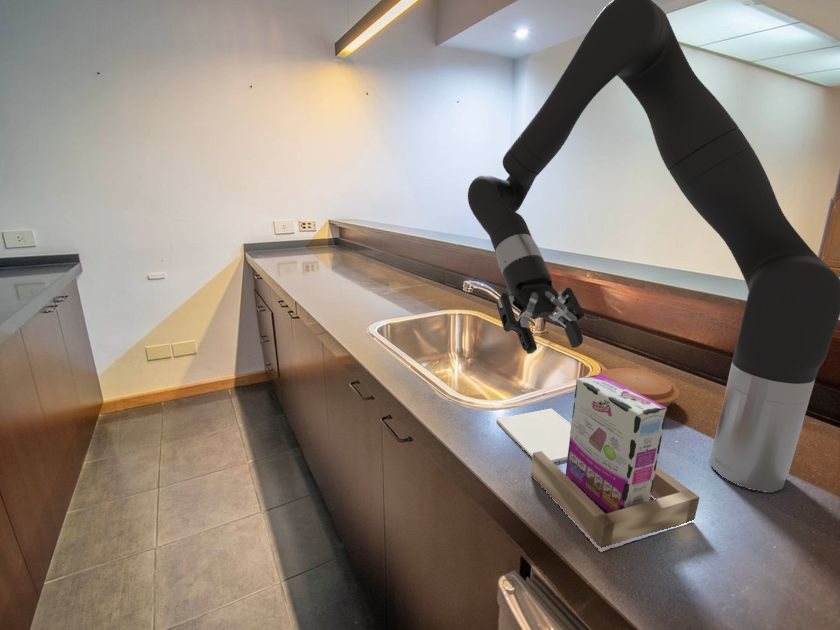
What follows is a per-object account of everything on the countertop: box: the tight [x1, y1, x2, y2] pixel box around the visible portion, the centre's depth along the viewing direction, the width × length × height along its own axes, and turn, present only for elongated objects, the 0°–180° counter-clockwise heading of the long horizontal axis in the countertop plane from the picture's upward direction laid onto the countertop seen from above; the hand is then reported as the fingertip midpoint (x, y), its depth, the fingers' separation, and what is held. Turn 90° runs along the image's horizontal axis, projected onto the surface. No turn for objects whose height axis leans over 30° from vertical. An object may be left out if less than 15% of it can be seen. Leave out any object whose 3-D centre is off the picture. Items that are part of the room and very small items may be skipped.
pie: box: [597, 367, 681, 408], centre depth 86 cm, size 15×16×5 cm
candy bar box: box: [565, 374, 668, 514], centre depth 58 cm, size 11×5×16 cm, turn 21°
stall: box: [530, 451, 700, 548], centre depth 59 cm, size 15×15×4 cm
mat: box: [496, 408, 571, 464], centre depth 74 cm, size 12×14×1 cm
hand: (555, 348), depth 68 cm, fingers open, 8 cm apart
